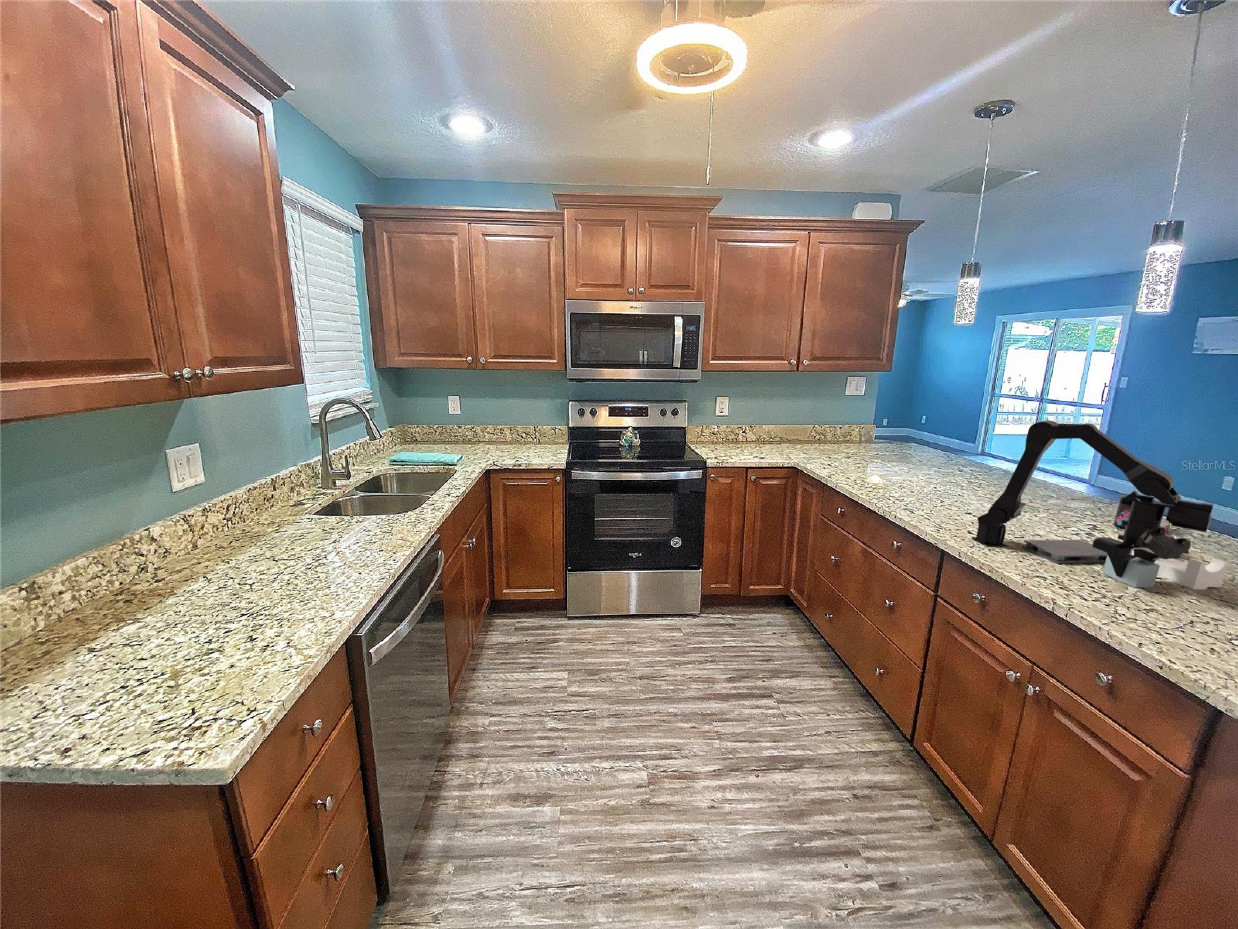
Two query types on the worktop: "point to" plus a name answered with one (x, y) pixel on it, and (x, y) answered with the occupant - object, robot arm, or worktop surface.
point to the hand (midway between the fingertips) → (1128, 576)
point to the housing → (1135, 572)
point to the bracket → (1193, 572)
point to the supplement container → (1122, 512)
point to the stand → (1066, 551)
